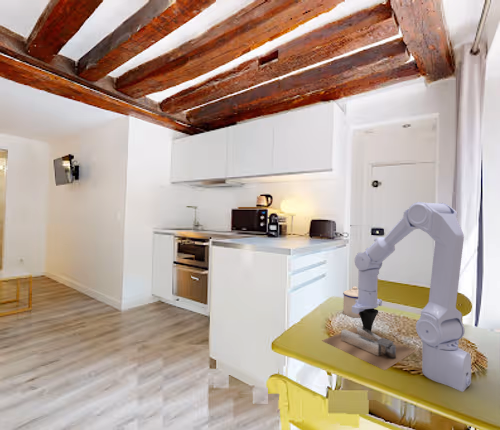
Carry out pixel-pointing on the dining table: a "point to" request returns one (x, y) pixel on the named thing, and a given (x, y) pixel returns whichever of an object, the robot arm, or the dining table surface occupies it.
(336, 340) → the walnut board
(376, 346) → the arm
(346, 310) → the teacup with lid
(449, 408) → the dining table surface
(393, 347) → the bar
